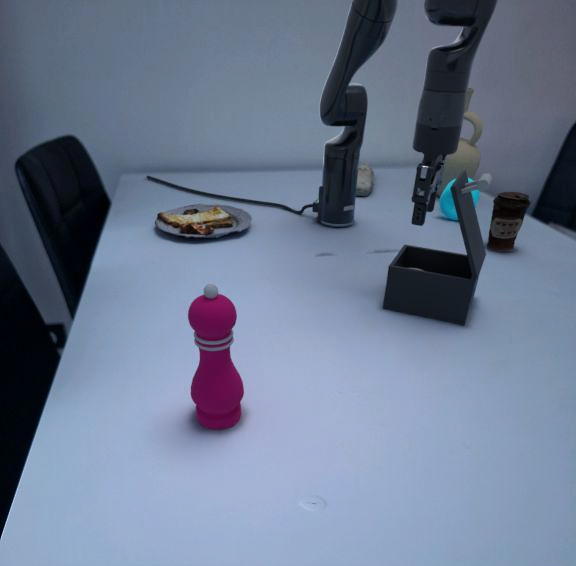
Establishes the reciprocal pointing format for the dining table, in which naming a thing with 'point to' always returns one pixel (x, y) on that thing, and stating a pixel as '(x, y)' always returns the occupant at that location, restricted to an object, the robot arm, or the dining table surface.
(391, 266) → the dark hinged chest
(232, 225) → the food plate
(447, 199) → the donuts
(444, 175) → the vase
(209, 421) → the pepper mill
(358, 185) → the long grey stone
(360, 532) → the dining table surface
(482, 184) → the lid
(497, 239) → the coffee cup
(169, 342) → the dining table surface
